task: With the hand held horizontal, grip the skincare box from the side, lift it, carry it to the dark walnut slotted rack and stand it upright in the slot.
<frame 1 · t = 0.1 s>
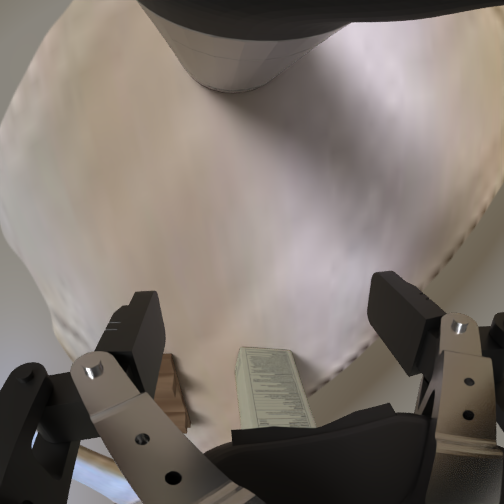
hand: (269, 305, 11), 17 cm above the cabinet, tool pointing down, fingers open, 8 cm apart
skincare box: (263, 359, 35), on the cabinet
rack: (141, 392, 36), on the cabinet
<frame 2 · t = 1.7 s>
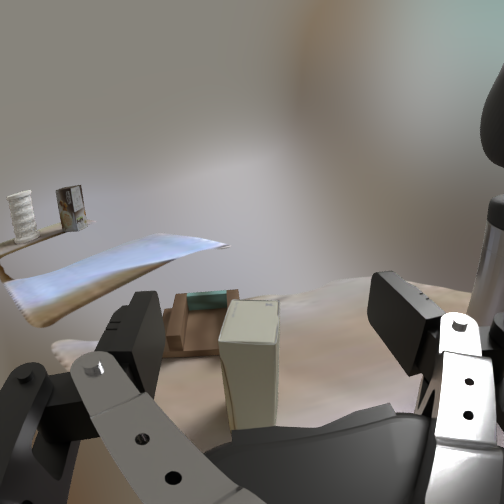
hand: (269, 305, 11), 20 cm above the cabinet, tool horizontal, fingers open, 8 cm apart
skincare box: (256, 415, 29), on the cabinet
rack: (208, 331, 43), on the cabinet
decorative container: (27, 239, 96), on the cabinet
coffee box: (75, 229, 102), on the cabinet
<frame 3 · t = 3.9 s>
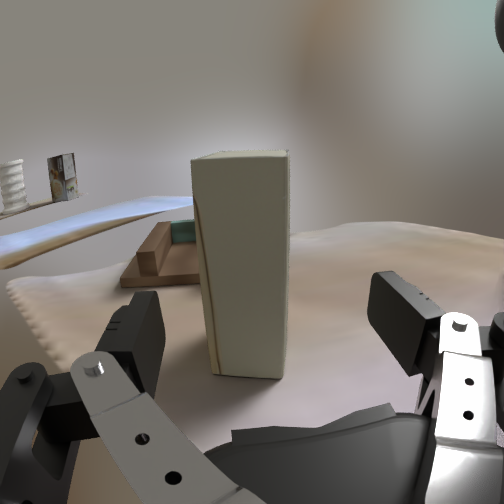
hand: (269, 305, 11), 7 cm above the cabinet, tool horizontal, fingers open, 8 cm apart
skincare box: (254, 350, 20), on the cabinet
rack: (194, 262, 34), on the cabinet
decorative container: (16, 210, 88), on the cabinet
coffee box: (65, 200, 94), on the cabinet
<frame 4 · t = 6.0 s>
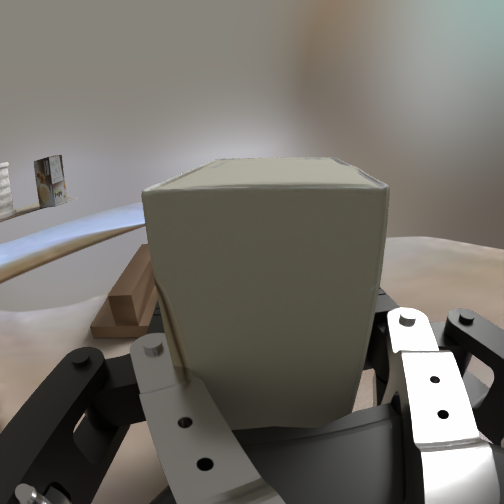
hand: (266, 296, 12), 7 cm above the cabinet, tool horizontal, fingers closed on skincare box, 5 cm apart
skincare box: (275, 457, 12), on the cabinet, touching gripper
rack: (187, 299, 26), on the cabinet
decorative container: (2, 217, 79), on the cabinet
coffee box: (53, 205, 86), on the cabinet
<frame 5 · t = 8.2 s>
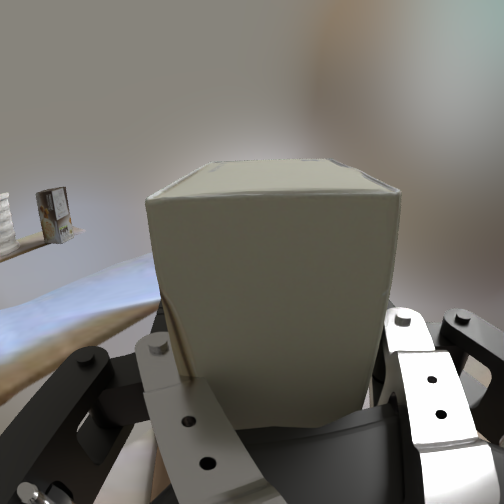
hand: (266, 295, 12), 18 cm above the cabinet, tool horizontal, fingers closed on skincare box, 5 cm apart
skincare box: (277, 459, 12), point 10 cm above the cabinet, touching gripper
rack: (241, 454, 22), on the cabinet
decorative container: (5, 251, 76), on the cabinet
coffee box: (59, 241, 82), on the cabinet
when the fingers open (9 cm above the cabinet, at t = 10.8 s): skincare box stays where it is, resting on rack.
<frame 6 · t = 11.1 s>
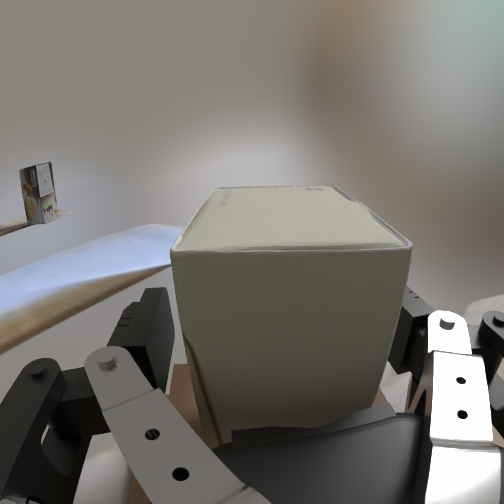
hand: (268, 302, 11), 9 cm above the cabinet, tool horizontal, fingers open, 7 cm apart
skincare box: (277, 469, 12), point 1 cm above the cabinet, touching rack
rack: (275, 473, 12), on the cabinet
coffee box: (43, 222, 72), on the cabinet
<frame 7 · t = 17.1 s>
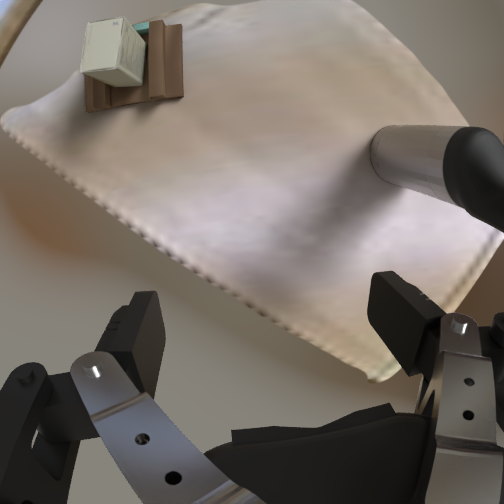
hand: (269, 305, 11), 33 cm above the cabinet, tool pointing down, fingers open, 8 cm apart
skincare box: (132, 67, 34), point 1 cm above the cabinet, touching rack
rack: (133, 67, 35), on the cabinet
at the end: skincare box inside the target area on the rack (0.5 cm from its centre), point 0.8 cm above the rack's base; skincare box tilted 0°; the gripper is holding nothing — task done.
